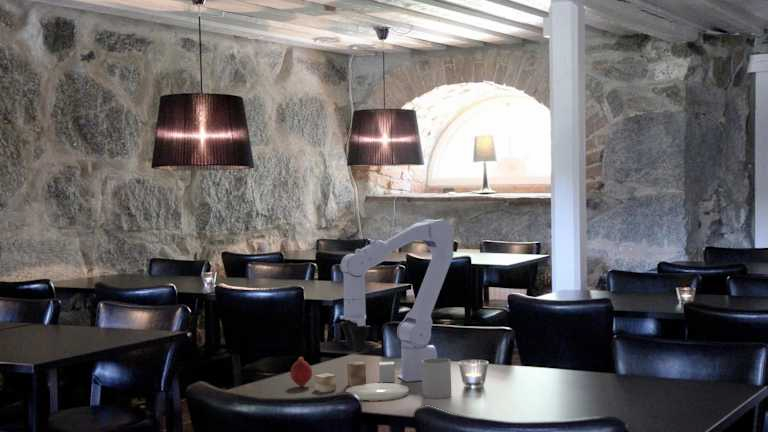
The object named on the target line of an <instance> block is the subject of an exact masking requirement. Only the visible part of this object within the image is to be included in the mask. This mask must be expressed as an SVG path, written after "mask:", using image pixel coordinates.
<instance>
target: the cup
mask: <svg viewBox="0 0 768 432" xmlns="http://www.w3.org/2000/svg"><path fill="white" fill-rule="evenodd" d="M421 364H422V380H421V385H422V386H421V390H422V391H421V392H422V397H423V398H424V399H428V400H429V399H430V400H441V399H448V398H450V397H452V371H451V370H452V369H451V367H452V366H451V365H452V363H451V359H450V358H442V357H437V358H431V359H424V360H422V361H421Z"/></svg>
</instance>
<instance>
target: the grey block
mask: <svg viewBox="0 0 768 432" xmlns="http://www.w3.org/2000/svg"><path fill="white" fill-rule="evenodd" d="M378 363H379V364H378V365H379V383H381V382H395V383H396V375H395V371H396V370H395V361H379V362H378Z"/></svg>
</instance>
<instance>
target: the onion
mask: <svg viewBox="0 0 768 432" xmlns="http://www.w3.org/2000/svg"><path fill="white" fill-rule="evenodd" d="M312 377H313V369H312V367H311V365H310V363H308V362H307V361H306V360H304V357H303V356H300V357H299V358H298V359H297V360H296V361H295V362H294V363H293V364H292V366H291V368H290V378H291V380H292V381H293V383H295V384H296V385H297V386H298V387H301V388H303V387H304V386H305V385H306V384H307V383H308V382H310V381H311V379H312Z"/></svg>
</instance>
